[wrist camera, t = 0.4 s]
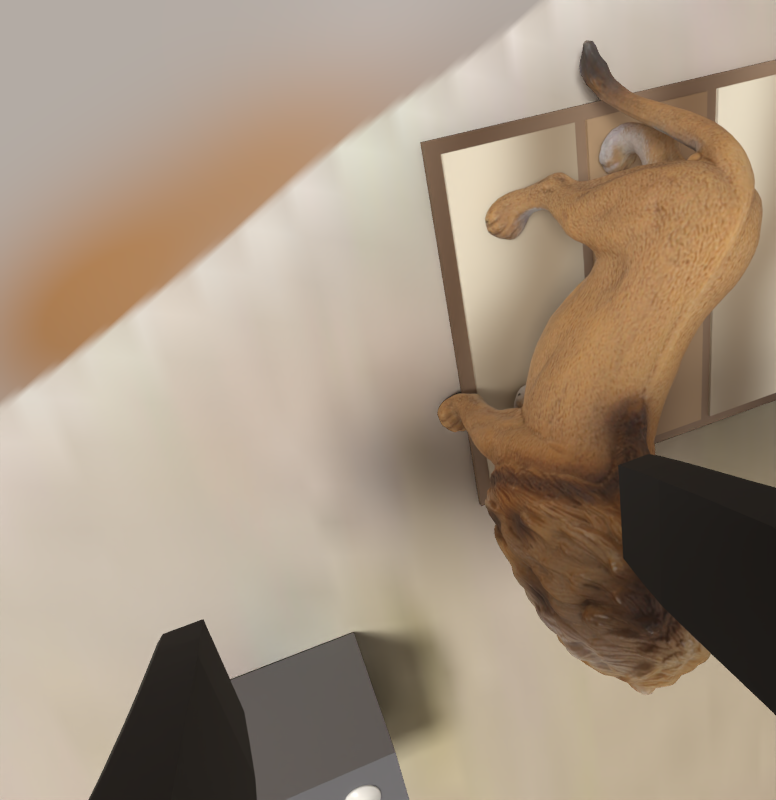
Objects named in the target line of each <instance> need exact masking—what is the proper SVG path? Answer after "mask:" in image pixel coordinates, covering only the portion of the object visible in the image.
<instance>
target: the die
mask: <svg viewBox="0 0 776 800" xmlns="http://www.w3.org/2000/svg"><path fill="white" fill-rule="evenodd" d="M231 683H232V685H233V687H234V689H235V692H236V694H237V696H238V698H239V701H240V703H241V705H242V707H243V710H244V712H245V718H246V724H247V730H248V736H249V741H250V747H251V753H252V760H253V766H254V772H255V779H256V794H257V800H409V797H408V794H407V790H406V787H405V783H404V780H403V777H402V773H401V770H400V766H399V763H398V760H397V756H396V753H395V750H394V747H393V744H392V741H391V738H390V735H389V733H388V730H387V727H386V724H385V721H384V718H383V715H382V713H381V710H380V707H379V704H378V701H377V698H376V695H375V692H374V690H373V687H372V684H371V681H370V678H369V675H368V672H367V669H366V667H365V664H364V661H363V658H362V655H361V652H360V649H359V646H358V644H357V641H356V638H355V635H354V632H353V633H351V634H348V635H346V636H343V637H341V638H338V639H335V640H333V641H330V642H328V643H325V644H322V645H320V646H317V647H315V648H312V649H309V650H307V651H304V652H302V653H299V654H297V655H294V656H291V657H289V658H286V659H284V660H281V661H278V662H276V663H273V664H271V665H268V666H266V667H263V668H260V669H258V670H255V671H253V672H250V673H247V674H245V675H242V676H240V677H237V678H234V679H232V680H231Z"/></svg>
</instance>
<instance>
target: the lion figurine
mask: <svg viewBox="0 0 776 800" xmlns="http://www.w3.org/2000/svg"><path fill="white" fill-rule="evenodd" d="M580 73H581V75H582V77H583V78H584V80H585V82H586V84H587V85H588V86H589V87H590V88H591V89H592V91H593V92H594V93H595V94H596V95H597V96H598V97H599V99H600V100H602V101H604V102H605V103H607V104H609V105H610V106H612V107H614V108H615V109H617V110H619V111H620V112H622V113H623V114H625V115H627V116H629V117H631V118H633V119H636V120H638V121H640V122H641V123H637V122H627V123H624V124H621V125H619V126H618V127H616V128H614V129H613V130H612V131H611V132H610V133H609V134H608V135H607V137H606V138H605V140H604V142H603V144H602V146H601V150H600V154H599V161H600V163H601V165H602V166H603V168H604V170H605V171H606V172H607V173H609V174H608V175H605V176H602V177H600V178H596V179H592V180H589V181H576V180H574V179H573V178H571V177H569V176H568V175H566V174H564V173H562V172H558V173H554V174H551V175H549V176H547V177H546V178H544V179H542V180H540V181H538V182H536V183H534V184H532V185H530V186H528V187H525V188H523V189H519V190H515V191H512V192H509V193H507V194H505V195H503V196H502V197H500V198H498V199H497V200H496V201H495V202H494V203H493V204H492V205H491V207H490V208H489V210H488V211H487V214H486V217H485V223H486V227H487V230H488V232H489V233H490V234H491V235H493V236H495V237H497V238H500V239H506V240H513V239H515V238H517V237H518V236H519V235H520V234H521V232H522V231H523V229H524V227H525V225H526V223H527V221H528V219H529V217H530V216H531V214H532V213H534V212H536V211H539V210H547V211H549V212H550V213H551V214H552V216H553V217H554V218H555V219H556V220H557V222H558V223H559V224H560V226H561V227H562V229H563V230H564V231H565V233H566V234H567V235H568V236H570V237H571V238H572V239H574V240H575V241H578V242H580V243H582V244H585V245H586V246H588V247H589V248H590V249H591V250H592V251H593V252H594V253H595V257H596V261H595V263H594V266H593V268H592V271H591V272H590V274H589V275H588V276H587V277H586V278H585V279H584V280H583V281H582V282H581V283H580V284H579V285H577V287H576V288H575V289H574V290H573V291H572V292H571V293H570V295H569V296H568V297H567V298H566V299H565V300H564V301H563V303H562V304H561V305H560V306H559V308H558V309H557V310H556V311H555V312H554V313H553V315H552V316H551V317H550V319H549V321H548V322H547V324H546V326H545V328H544V330H543V332H542V334H541V336H540V338H539V340H538V342H537V345H536V348H535V350H534V353H533V356H532V359H531V363H530V367H529V372H528V377H527V382H526V385H524V386H523V387H521V388H520V389H519V391H518V392H517V395H516V398H515V401H514V408H509V409H504V410H498V409H495V408H494V407H492V406H490V405H488V404H487V403H486V402H485V401H484V399H483V398H482V397H481V396H480V395H478V394H464V393H458V394H455V395H453V396H451V397H450V398H448V399H446V400H445V401H444V402H443V403H442V404H441V405H440V407H439V409H438V414H437V415H438V417H439V420H440V422H441V424H442V425H443V426H444V427H446V428H447V429H449V430H451V431H453V432H457V431H465V430H467V431H468V433H469V435H470V437H471V439H472V441H473V443H474V445H475V446H476V447H477V448H478V450H479V451H480V452H481V453H482V454H483V455H484V456H485V457H486V458H487V459H489V460H490V461H491V462H492V463H493V464H494V465H495V469H494V471H493V472H492V473H491V477H490V482H491V487H490V488H489V489H488V491H487V498H486V500H485V505H486V507H487V509H488V512H489V515H490V516H491V518H492V519H493V521H494V522H495V523H496V525H495V528H494V531H495V538H496V540H497V542H498V544H499V546H500V548H501V550H502V552H503V553H504V555H505V556H506V558H507V559H508V561H509V562H510V564H511V566H512V571H513V574H514V576H515V578H516V579H517V581H518V582H519V584H520V585H521V586H522V587H523V588H524V589H525V592H526V595H527V597H528V599H529V600H530V602H531V603H532V604H533V605H534V606H535V608H536V611H537V614H538V615H539V617H540V619H541V620H542V621H543V622H544V623H545V625H546V626H547V627H548V628H549V629H550V630H552V631H553V632H554V633H555V634H557V637H558V639H559V641H560V642H561V643H562V644H563V645H564V646H565V647H566V649H567V651H568V652H569V653H570V654H571V655H573V656H574V657H575V658H577V659H579V660H581V661H582V662H584V663H585V664H587V665H588V666H590V667H592V668H593V669H595V670H596V671H598V672H600V673H602V674H604V675H608V676H614V677H616V678H618V679H620V680H622V681H625V682H627V683H628V684H629V685H630V686H631V687H632V688H634V689H635V690H636V691H638V692H640V693H642V694H644V695H649V694H652V693H653V691H654V690H655V688H659V687H665V686H670V685H673V684H674V683H675V682H676V681H677V680H678V679H679V678H680V676H681V675H683V674H686V673H688V672H690V671H692V670H694V669H695V668H696V667H697V666H698V665H700V664H702V663H704V662H705V661H706V660H707V659H708V658H709V656H710V654H711V653H710V652H709V651H708V650H707V649H706V648H705V647H704V646H703V645H702V644H701V643H699V642H698V641H697V640H696V639H695V638H694V637H693V636H692V635H691V634H690V633H689V632H688V631H687V630H686V629H685V628H684V627H683V626H682V625H681V624H680V623H679V622H678V621H677V620H676V619H675V618H674V617H673V616H672V615H671V614H670V613H669V612H668V611H667V610H666V609H665V608H664V607H663V606H662V605H661V604H660V603H659V602H658V601H657V600H656V598H655V597H654V596H653V595H652V594H651V592H650V591H649V590H648V589H647V588H646V586H645V585H644V584H643V583H642V582H641V580H640V579H639V578H638V576H637V575H636V574H635V573H634V571H633V570H632V569H631V568H630V566H629V565H628V564H627V562H626V561H625V560H624V559H623V546H622V527H621V509H620V490H619V472H618V465H620V464H623V463H625V462H628V461H631V460H633V459H636V458H639V457H641V456H644V455H647V454H652V455H655V445H654V440H655V436H656V432H657V427H658V423H659V419H660V416H661V413H662V410H663V406H664V404H665V401H666V398H667V396H668V393H669V391H670V389H671V387H672V385H673V382H674V380H675V378H676V376H677V374H678V371H679V367H680V364H681V361H682V359H683V356H684V354H685V352H686V350H687V348H688V346H689V344H690V343H691V341H692V339H693V337H694V336H695V334H696V332H697V330H698V328H699V327H700V325H701V324H702V323H703V321H704V320H705V318H706V317H707V316H708V315H709V314H710V313H711V312H712V310H713V309H714V308H715V307H716V306H717V305H718V304H719V303H720V302H721V301H722V299H723V298H724V297H725V296H726V295H727V294H728V293H729V292H730V291H731V290H732V289H733V288H734V287H735V285H736V284H737V283H738V281H739V280H740V279H741V277H742V276H743V274H744V273H745V271H746V269H747V268H748V266H749V264H750V262H751V260H752V258H753V256H754V254H755V252H756V249H757V246H758V243H759V239H760V231H761V224H762V216H763V208H762V200H761V197H760V195H759V193H758V192H757V191H756V189H755V178H754V173H753V170H752V166H751V163H750V161H749V158H748V156H747V154H746V152H745V150H744V149H743V147H742V146H741V144H740V143H739V142H738V141H737V140H736V139H735V138H734V137H733V135H731V134H730V133H729V132H728V131H727V130H726V129H724V128H723V127H722V126H720V125H719V124H717V123H716V122H714V121H712V120H710V119H708V118H705V117H703V116H701V115H698V114H696V113H693V112H691V111H688V110H685V109H681V108H677V107H674V106H671V105H668V104H664V103H661V102H658V101H654V100H651V99H647V98H644V97H641V96H638V95H636V94H634V93H632V92H630V91H629V90H627V89H626V88H625V87H624V86H622V85H621V84H620V83H619V82H618V81H616V80H615V79H614V77H613V76H612V74H611V72H610V70H609V67H608V65H607V63H606V62H605V61H604V60H603V58H602V57H601V56H600V54H599V52H598V50H597V47H596V45H595V44H594V42H593V41H587V40H586V41H585V42H584V43H583V51H582V56H581V60H580ZM680 143H682V144H684V145H685V146H687V147H689V148H691V149H692V150H694V151H696V153H694V154H692V155H691V156H689V157H688V159H687V160H685V158H684V157H683V155H682V153H681V150H680ZM637 155H638V156H639V158H640V160H641V162H642V165H641V166H636V167H633V168H630V167H631V165H632V164H633V163H634V162H635V160H636V158H637Z"/></svg>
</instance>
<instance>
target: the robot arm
mask: <svg viewBox="0 0 776 800" xmlns="http://www.w3.org/2000/svg"><path fill="white" fill-rule="evenodd" d="M618 472H619V490H620V509H621V527H622V546H623V559H624V560H625V561H626V562H627V564H628V565H629V566H630V568H631V569H632V570H633V571H634V573H635V574H636V575H637V576H638V578H639V579H640V580H641V582H642V583H643V584H644V585H645V586H646V588H647V589H648V590H649V591H650V592H651V594H652V595H653V596H654V597H655V598H656V600H657V601H658V602H659V603H660V604H661V605H662V606H663V607H664V608H665V609H666V610H667V611H668V612H669V613H670V614H671V615H672V616H673V617H674V618H675V619H676V620H677V621H678V622H679V623H680V624H681V625H682V626H683V627H684V628H685V629H686V630H687V631H688V632H689V633H690V634H691V635H692V636H693V637H694V638H695V639H696V640H697V641H698V642H699V643H701V644H702V645H703V646H704V647H705V648H706V649H707V650H708V651H709V652H710V653H711V654H712V655H713V656H714V657H715V658H716V659H717V660H718V661H720V662H721V663H722V664H723V665H724V666H725V667H726V668H727V669H728V670H729V671H730V672H731V673H732V674H733V675H734V676H735V677H736V678H737V679H738V680H740V681H741V682H742V683H743V684H744V685H745V686H746V687H747V688H748V689H749V690H750V691H751V692H752V693H753V694H754V695H755V696H756V697H757V698H758V699H760V700H761V701H762V702H763V703H764V704H765V705H766V706H767V707H768V708H769V709H770V710H771V711H772V712H773V713H774V714H775V715H776V488H774V487H771V486H767V485H764V484H760V483H756V482H753V481H749V480H746V479H742V478H739V477H735V476H732V475H728V474H724V473H721V472H717V471H714V470H710V469H707V468H703V467H700V466H696V465H692V464H689V463H685V462H681V461H677V460H674V459H670V458H665V457H661V456H657V455H652V454H647V455H644V456H641V457H639V458H636V459H633V460H631V461H628V462H625V463H623V464H620V465H618ZM89 800H257V794H256V779H255V772H254V766H253V760H252V753H251V747H250V741H249V736H248V730H247V724H246V718H245V712H244V710H243V707H242V705H241V703H240V701H239V698H238V696H237V694H236V692H235V689H234V687H233V685H232V683H231V680H230V678H229V676H228V674H227V672H226V669H225V667H224V665H223V663H222V660H221V658H220V656H219V654H218V651H217V649H216V647H215V645H214V642H213V640H212V638H211V636H210V633H209V631H208V629H207V627H206V624H205V622H204V620H200V621H197V622H195V623H192V624H189V625H186V626H184V627H181V628H178V629H176V630H173V631H170V632H168V633H165V634H163V635H162V636H161V638H160V640H159V642H158V644H157V646H156V648H155V651H154V653H153V656H152V658H151V661H150V663H149V666H148V668H147V671H146V673H145V676H144V678H143V681H142V683H141V685H140V688H139V690H138V693H137V695H136V697H135V700H134V702H133V704H132V707H131V709H130V711H129V714H128V716H127V718H126V721H125V723H124V725H123V727H122V730H121V732H120V734H119V736H118V738H117V741H116V743H115V745H114V747H113V749H112V751H111V754H110V756H109V758H108V760H107V762H106V765H105V767H104V769H103V771H102V773H101V775H100V778H99V780H98V782H97V784H96V786H95V788H94V790H93V792H92V794H91V796H90V798H89Z"/></svg>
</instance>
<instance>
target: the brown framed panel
mask: <svg viewBox="0 0 776 800" xmlns="http://www.w3.org/2000/svg"><path fill="white" fill-rule="evenodd" d="M634 94H636V95H638V96H641V97H644V98H647V99H651V100H654V101H658V102H661V103H664V104H668V105H671V106H674V107H677V108H681V109H685V110H688V111H691V112H693V113H696V114H698V115H701V116H703V117H705V118H708V119H710V120H712V121H714V122H716V123H717V124H719V125H720V126H722V127H723V128H724V129H726V130H727V131H728V132H729V133H730V134H731V135H733V137H734V138H735V139H736V140H737V141H738V142H739V143H740V144H741V146H742V147H743V149H744V150H745V152H746V154H747V156H748V158H749V161H750V163H751V166H752V170H753V173H754V178H755V189H756V191H757V192H758V193H759V195H760V197H761V200H762V208H763V216H762V224H761V231H760V239H759V243H758V246H757V249H756V252H755V254H754V256H753V258H752V260H751V262H750V264H749V266H748V268H747V269H746V271H745V273H744V274H743V276H742V277H741V279H740V280H739V281H738V283H737V284H736V285H735V287H734V288H733V289H732V290H731V291H730V292H729V293H728V294H727V295H726V296H725V297H724V298H723V299H722V301H721V302H720V303H719V304H718V305H717V306H716V307H715V308H714V309H713V310H712V312H711V313H710V314H709V315H708V316H707V317H706V318H705V320H704V321H703V323H702V324H701V325H700V327H699V328H698V330H697V332H696V334H695V336H694V337H693V339H692V341H691V343H690V344H689V346H688V348H687V350H686V352H685V354H684V356H683V359H682V361H681V364H680V367H679V371H678V374H677V376H676V378H675V380H674V382H673V385H672V387H671V389H670V391H669V393H668V396H667V398H666V401H665V404H664V406H663V410H662V413H661V416H660V419H659V423H658V427H657V432H656V436H655V440H654V444H655V443H658V442H661V441H663V440H666V439H669V438H672V437H675V436H677V435H680V434H683V433H686V432H688V431H691V430H694V429H697V428H700V427H702V426H705V425H708V424H711V423H713V422H716V421H719V420H722V419H724V418H727V417H730V416H733V415H736V414H738V413H741V412H744V411H747V410H749V409H752V408H755V407H758V406H761V405H763V404H766V403H769V402H772V401H774V400H776V60H772V61H768V62H764V63H759V64H755V65H751V66H746V67H742V68H738V69H734V70H729V71H725V72H721V73H716V74H712V75H708V76H704V77H699V78H695V79H691V80H686V81H682V82H678V83H673V84H669V85H665V86H661V87H656V88H652V89H648V90H643V91H639V92H635V93H634ZM627 122H637V123H641V122H640V121H638V120H636V119H633V118H631V117H629V116H627V115H625V114H623V113H622V112H620V111H619V110H617V109H615V108H614V107H612V106H610V105H609V104H607V103H605V102H604V101H602V100H600V101H596V102H592V103H588V104H583V105H579V106H575V107H570V108H566V109H562V110H558V111H553V112H549V113H545V114H540V115H536V116H532V117H528V118H523V119H519V120H515V121H510V122H506V123H502V124H497V125H493V126H489V127H485V128H480V129H476V130H472V131H467V132H463V133H459V134H455V135H450V136H446V137H442V138H437V139H433V140H429V141H424V142H420V143H421V149H422V155H423V161H424V167H425V173H426V180H427V186H428V192H429V198H430V204H431V210H432V216H433V222H434V229H435V235H436V241H437V247H438V253H439V259H440V265H441V271H442V278H443V284H444V290H445V296H446V302H447V308H448V314H449V320H450V327H451V333H452V339H453V345H454V351H455V357H456V363H457V369H458V376H459V382H460V388H461V393H464V394H478V395H480V396H481V397H482V398H483V399H484V401H485V402H486V403H487V404H488V405H490V406H492V407H494V408H495V409H498V410H504V409H509V408H514V401H515V398H516V395H517V392H518V391H519V389H520V388H521V387H523V386H524V385H526V382H527V377H528V372H529V367H530V363H531V359H532V356H533V353H534V350H535V348H536V345H537V342H538V340H539V338H540V336H541V334H542V332H543V330H544V328H545V326H546V324H547V322H548V321H549V319H550V317H551V316H552V315H553V313H554V312H555V311H556V310H557V309H558V308H559V306H560V305H561V304H562V303H563V301H564V300H565V299H566V298H567V297H568V296H569V295H570V293H571V292H572V291H573V290H574V289H575V288H576V287H577V285H579V284H580V283H581V282H582V281H583V280H584V279H585V278H586V277H587V276H588V275H589V274H590V272H591V271H592V268H593V266H594V263H595V261H596V257H595V253H594V252H593V251H592V250H591V249H590V248H589V247H588V246H586V245H585V244H582V243H580V242H578V241H575V240H574V239H572V238H571V237H570V236H568V235H567V234H566V233H565V231H564V230H563V229H562V227H561V226H560V224H559V223H558V222H557V220H556V219H555V218H554V217H553V216H552V214H551V213H550V212H549V211H547V210H539V211H536V212H534V213H532V214H531V216H530V217H529V219H528V221H527V223H526V225H525V227H524V229H523V231H522V232H521V234H520V235H519V236H518V237H517V238H515V239H513V240H506V239H500V238H497V237H495V236H493V235H491V234H490V233H489V232H488V230H487V227H486V223H485V217H486V214H487V211H488V210H489V208H490V207H491V205H492V204H493V203H494V202H495V201H496V200H497V199H498V198H500V197H502V196H503V195H505V194H507V193H509V192H512V191H515V190H519V189H523V188H525V187H528V186H530V185H532V184H534V183H536V182H538V181H540V180H542V179H544V178H546V177H547V176H549V175H551V174H554V173H558V172H562V173H564V174H566V175H568V176H569V177H571V178H573V179H574V180H576V181H589V180H592V179H596V178H600V177H602V176H605V175H608V174H609V173H607V172H606V171H605V170H604V168H603V166H602V165H601V163H600V161H599V154H600V150H601V146H602V144H603V142H604V140H605V138H606V137H607V135H608V134H609V133H610V132H611V131H612V130H613V129H614V128H616V127H618V126H619V125H621V124H624V123H627ZM680 150H681V153H682V155H683V157H684V158H685V160H687V159H688V157H689V156H691V155H692V154H694V153H696V151H694V150H692V149H691V148H689V147H687V146H685V145H684V144H682V143H680ZM641 165H642V162H641V160H640V158H639V156H638V155H637V158H636V160H635V162H634V163H633V164H632V165H631V167H630V168H633V167H636V166H641ZM468 437H469V443H470V449H471V455H472V461H473V467H474V474H475V480H476V486H477V492H478V498H479V503H480V505H481V506H483V505H485V500H486V498H487V491H488V489H489V488H490V487H491V482H490V477H491V473H492V472H493V471H494V469H495V465H494V464H493V463H492V462H491V461H490V460H489V459H487V458H486V457H485V456H484V455H483V454H482V453H481V452H480V451H479V450H478V448H477V447H476V446H475V445H474V443H473V441H472V439H471V437H470V435H469V433H468Z"/></svg>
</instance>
